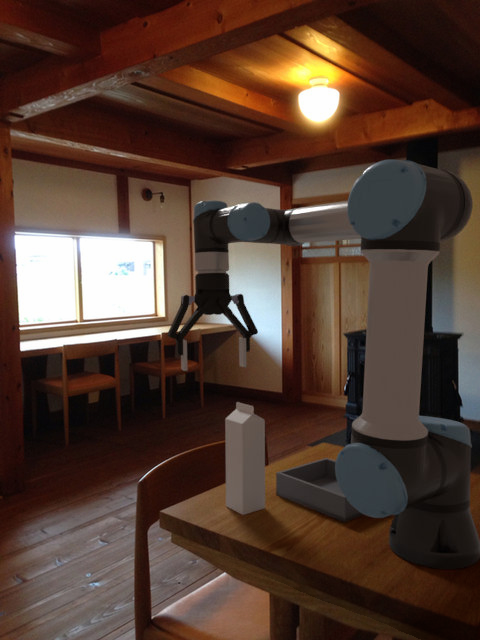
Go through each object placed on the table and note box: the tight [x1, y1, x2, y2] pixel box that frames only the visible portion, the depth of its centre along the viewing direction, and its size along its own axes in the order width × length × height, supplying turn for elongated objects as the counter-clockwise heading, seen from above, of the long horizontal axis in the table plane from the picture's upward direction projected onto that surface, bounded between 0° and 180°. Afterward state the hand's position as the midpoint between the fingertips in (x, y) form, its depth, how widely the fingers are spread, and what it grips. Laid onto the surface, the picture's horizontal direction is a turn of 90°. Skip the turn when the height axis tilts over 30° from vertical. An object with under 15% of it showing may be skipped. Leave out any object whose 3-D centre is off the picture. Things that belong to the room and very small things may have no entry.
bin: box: [275, 457, 365, 523], centre depth 121 cm, size 20×17×5 cm
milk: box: [224, 401, 266, 516], centre depth 116 cm, size 6×6×22 cm
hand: (214, 368), depth 123 cm, fingers open, 13 cm apart
